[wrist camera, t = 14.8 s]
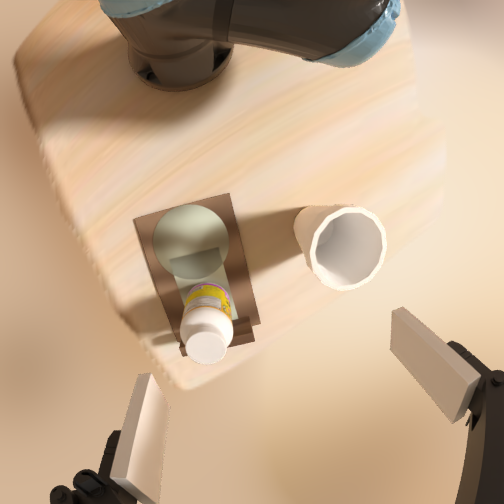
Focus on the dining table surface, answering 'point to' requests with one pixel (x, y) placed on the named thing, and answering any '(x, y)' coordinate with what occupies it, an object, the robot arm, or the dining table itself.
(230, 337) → the supplement bottle
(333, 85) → the dining table surface
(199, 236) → the keyhole board
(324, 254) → the foam cup
